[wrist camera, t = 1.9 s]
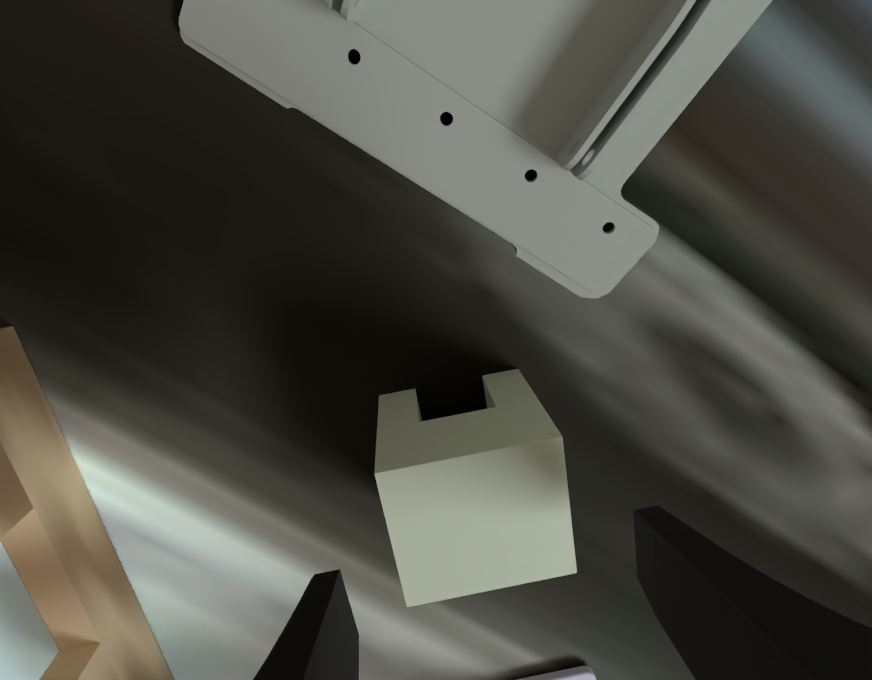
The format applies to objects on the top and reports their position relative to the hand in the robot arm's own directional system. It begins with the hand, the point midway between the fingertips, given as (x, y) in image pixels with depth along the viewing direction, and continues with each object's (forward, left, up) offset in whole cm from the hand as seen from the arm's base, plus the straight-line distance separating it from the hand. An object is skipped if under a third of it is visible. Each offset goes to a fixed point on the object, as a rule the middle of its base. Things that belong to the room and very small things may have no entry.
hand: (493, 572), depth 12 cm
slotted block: (0, 0, -7) cm, 7 cm away
